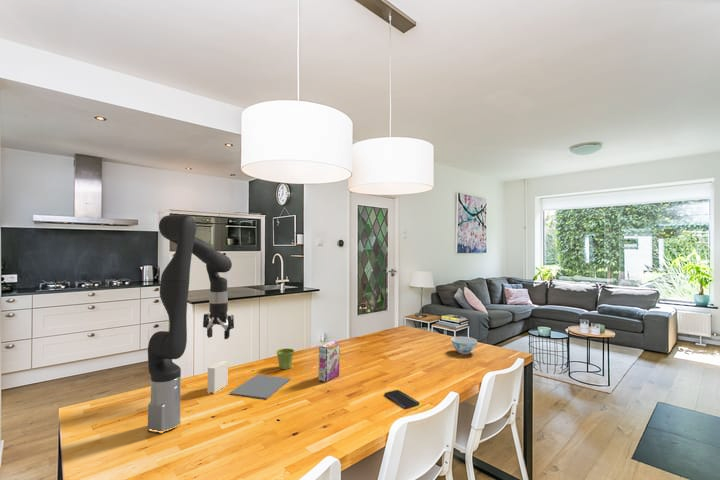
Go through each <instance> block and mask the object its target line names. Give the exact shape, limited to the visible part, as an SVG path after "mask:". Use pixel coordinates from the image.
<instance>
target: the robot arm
mask: <svg viewBox="0 0 720 480" xmlns="http://www.w3.org/2000/svg"><path fill="white" fill-rule="evenodd" d="M196 223H197V222H196V220H195V218H194V217H193V216H192V215H190V214H170V215H168V214H167V215H164V216H163V217H161V219H160V220H159V223H158V229H159V233H160V234H161V236H162V237H163V238H165V239H166V240H168V241H170V242H172V243H174V244H176V250H175V252H174V255H173V257H172V258H171V260H170V261H169V262H168V263H167V265H166V267H165V268H164V270H163V271H162V274H161V277H160V281H159V282H160V284H159V297H160V301H161V302H162V305H163V306H164V309H165V310H166V314H167V315H168V322H169V324H168V325H169V327H168V328H169V329H168V330H166V331H164V330H160V331H157V332H154V333H153V334H152V335H151V336H150V339H149V341H148V344H147V365H148V367H147V368H148V373H149V376H150V402H149V403H148V404H147V430H148V429H152V430H157V431H164V430H167V429H170V428H173V427H175V426H177V425H178V424H179V423H180V424H181V388H182V387H181V380H182V379H181V378H182V377H181V376H182V375H181V374H182V369H181V367H180V365H178V364H176V363H175V362H173V361H172V360H179V359H180V358H181V357H182V356H183V355H184V353H185V351H186V348H187V343H188V339H187V338H188V328H187V327H188V325H187V324H188V323H187V321H188V320H187V318H188V317H187V316H188V315H187V313H188V299H189V290H190V289H189V288H190V273H191V265H192V264H191V262H192V256H193V255H194V256H195V257H196V258H197V259H199V260H200V261H201V262H202V263H204V264H206V265H205V268H206V272H207V275H208V279H209V284H210V287H209V289H210V291H209V304H208V305H209V306H208V307H209V310H208V311H209V313H204V314H203V317H202V318H203V320H202V327H203V328H206V336H207V338H212V337H213V327H214V325H217V326H221V327H222V328H223V329H224V333H223V334H224V340H228V339H229V338H230V336H231V335H230V333H231V332H230V331H231V330H234V328H235V319H234V316H235V315H234V314H230V315H228V309H229V308H228V305H229V304H228V302H229V301H228V299H229V298H228V297H229V296H228V279H227V278H225V277H222V276H220V274H219V273H228V272H229V271H230V270H231V269H232V266H233V264H232V260H231V259H230V257H228V256H227V255H226V254H224V253H221V252H220V251H217V250H216V249H215V248H214V247H213V246H212V245H211V244H209V243H208V242H207V241H205V240H203V239H200V238H198V237H196V234H197V224H196Z"/></svg>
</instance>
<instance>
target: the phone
mask: <svg viewBox="0 0 720 480" xmlns="http://www.w3.org/2000/svg"><path fill="white" fill-rule="evenodd" d="M383 396H384V397H385V398H387V399H389V400H390V401H391V402H393V403H395V404H397V405H398V406H400V407H401V408H403V409H405V410H406V409H407V410H408V409H411V408H414V407H418V406H419V405H420V401H418V400H416V399H415V398H413V397H411V396H409V395H408V394H406V393H405V392H403V391H401V390H398V389H395V390H390V391H386V392H384V395H383Z"/></svg>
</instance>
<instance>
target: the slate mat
mask: <svg viewBox="0 0 720 480" xmlns="http://www.w3.org/2000/svg"><path fill="white" fill-rule="evenodd" d="M290 379H292V378H290V377H282V376H272V375H264V374H256V375H254V376H253V377H251V378H250V379H248V380H246V381H245V382H244V383H242V384H240V385H239V386H238V387H236V388H234V389H233V390H231V391H230V392H229V393H231V394H237V395H236V396H238V395H244V396H243V397H246V396H249V397H248V398H253V397H255V399H260V398H261V399H262V400H268V399H269V398H270V397H271V396H273V395H274V394H275V393H277V392H278V391H279V390H280V389H281V388H283V387H284V386H285V385H286V384H287V383H288V382H290V381H291V380H290ZM289 380H290V381H289ZM284 384H285V385H284ZM283 385H284V386H283ZM279 388H280V389H279ZM278 389H279V390H278ZM273 393H274V394H273ZM231 394H230V395H231ZM272 394H273V395H272Z"/></svg>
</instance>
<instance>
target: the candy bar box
mask: <svg viewBox="0 0 720 480" xmlns="http://www.w3.org/2000/svg"><path fill="white" fill-rule="evenodd" d="M340 348H341V343H340V342H339V341H333V340H332V341H329V342H326V343H323V344H322V345H319V346H318V381H319V382H323V383H327V382H330V381H331V380H333V379H336V378H337V377H338V376H340V355H341V353H340V352H341V351H340V350H341V349H340Z"/></svg>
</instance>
